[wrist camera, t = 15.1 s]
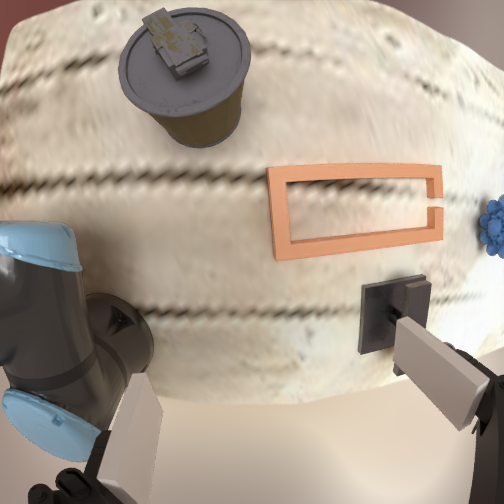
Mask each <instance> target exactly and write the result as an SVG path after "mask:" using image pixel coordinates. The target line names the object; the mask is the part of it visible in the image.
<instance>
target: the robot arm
mask: <svg viewBox="0 0 504 504" xmlns="http://www.w3.org/2000/svg"><path fill="white" fill-rule="evenodd" d="M82 271H83V268H82V266H81V265H80V261H79V256H78V250H77V243H76V237H75V234H74V232H73V230H72V229H71V228H70V227H69V226H68V225H66V224H64V223H62V222H54V221H0V366H3V369H4V371H5V373H6V376H7V378H8V380H9V382H10V388H9V389H6V391H4V396H3V400H2V407H3V410H4V412H5V414H6V416H7V417H8V419H9V420H10V422H11V423H12V424H13V425H14V427H15V428H16V429H17V430H18V431H19V432H20V433H21V434H22V435H23V436H25V437H26V438H27V439H28V440H29V441H31V442H32V443H33V444H35V445H36V446H38V447H39V448H41V449H43V450H44V451H46V452H48V453H50V454H52V455H54V456H56V457H59V458H62V459H65V460H68V461H72V462H86V461H88V462H87V465H86V467H85V471H84V473H82V472H81V471H80V470H78V469H76V468H67V469H64V470H62V471H61V472H60V473H59V474H58V475H57V477H56V480H55V483H56V487H57V488H58V489H59V490H55V491H52V490H51V489H50V488H49V487H48V486H47V485H45V484H36V485H34V486H33V487H32V488H31V489H30V490H29V492H28V504H149V502H150V494H151V486H152V479H153V471H154V464H155V458H156V451H157V445H158V439H159V433H160V426H161V421H162V416H163V410H162V407H161V405H160V403H159V401H158V399H157V397H156V394H155V392H154V390H153V388H152V385H151V383H150V381H149V378H148V376H147V373H144V372H145V370H146V369H147V367H148V365H149V362H150V360H151V357H152V354H153V339H152V335H151V332H150V330H149V327H148V325H147V324H146V322H145V320H144V319H143V318H142V316H141V315H140V314H139V313H138V312H137V311H136V310H135V309H134V308H133V307H132V306H131V305H129V304H128V303H126V302H125V301H123V300H121V299H119V298H117V297H115V296H112V295H108V294H101V293H97V294H90V295H87V296H85V292H84V286H83V279H82ZM393 361H394V362H395V363H396V365H397V366H398V367H399V368H400V369H401V370H402V371H403V372H404V373H405V374H406V375H407V376H408V377H409V378H410V379H411V380H412V381H413V382H414V383H415V384H416V385H417V387H418V388H419V389H420V390H421V391H422V392H423V393H424V394H425V395H426V396H427V397H428V398H429V399H430V400H431V401H432V402H433V403H434V405H436V407H437V408H438V409H439V410H440V411H441V412H442V413H443V414H444V415H445V416H446V418H447V419H448V420H449V421H450V422H451V423H452V424H453V425H454V426H455V427H456V428H457V430H458V431H461V430H462V429H464V428H465V427H467V426H468V425H470V424H471V422H472V420H473V418H474V416H475V415H476V416H477V417H478V420H477V422H476V424H475V426H474V428H473V430H472V434H474V432H475V430H476V429H477V433H476V451H475V463H474V472H473V480H472V487H471V493H470V499H469V504H504V375H500V376H497V375H496V374H494V373H493V372H492V371H490V370H489V369H488V368H486V367H485V366H484V365H483V364H481V363H480V362H478V361H477V360H476V359H475V358H474V359H473V357H472V356H471V355H469V354H468V353H467V352H465V351H462V350H459V349H456V350H452V349H451V348H450V347H448V346H447V345H446V344H444V343H443V342H442V341H441V340H439V339H438V338H437V337H435V336H434V335H433V334H431V333H430V332H429V331H427V330H426V329H424V328H423V327H422V326H420V325H419V324H418V323H416V322H415V321H414V320H412V319H411V318H410V317H408V316H407V317H404V318H401V319H398V320H397V323H396V335H395V346H394V355H393ZM127 386H128V387H127ZM126 387H127V389H126V392H125V395H124V397H123V400H122V403H121V406H120V408H119V412H118V414H117V417H116V420H115V423H114V425H113V428H112V430H108V429H109V426H110V424H111V421H112V419H113V416H114V414H115V411H116V409H117V407H118V404H119V402H120V400H121V397H122V395H123V393H124V390H125V388H126Z"/></svg>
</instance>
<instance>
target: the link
mask: <svg viewBox="0 0 504 504" xmlns="http://www.w3.org/2000/svg"><path fill="white" fill-rule="evenodd" d="M266 171H267V181H268V192H269V203H270V214H271V225H272V237H273V249H274V258H275V260H276V261H283V260H291V259H300V258H308V257H316V256H324V255H332V254H340V253H348V252H356V251H364V250H372V249H379V248H387V247H394V246H402V245H409V244H417V243H424V242H431V241H439V240H443V208H440V207H428V227H420V228H411V229H401V230H391V231H382V232H372V233H363V234H353V235H344V236H334V237H325V238H316V239H307V240H298V241H290V228H289V215H288V203H287V191H286V182H294V181H309V180H327V179H350V178H426V181H427V197H428V198H443V181H442V166H440V165H421V164H385V163H356V164H318V165H298V166H282V167H268V168H266Z"/></svg>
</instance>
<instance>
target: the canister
mask: <svg viewBox="0 0 504 504" xmlns="http://www.w3.org/2000/svg"><path fill="white" fill-rule="evenodd" d="M142 21H143V23H144V25H143V26H141V27H140V28H139V29H138V30H137V31H136V32H135V33H134V34H133V35H132V36H131V37H130V39H129V41H128V42H127V44H126V46H125V48H124V50H123V51H122V53H121V55H120V61H119V67H118V73H119V80H120V84H121V87H122V90H123V92H124V94H125V95H126V97H127V98H128V99H129V100H130V101H131V102H132V103H133V104H134V105H135V106H136V107H138V108H139V109H141V110H143V111H145V112H147V113H149V114H150V115H151V116H152V117H153V118H154V119H155V120H156V121H157V122H158V123H159V124H160V125H162V126H163V127H164V128H165V129H166V130H167V132H168V133H169V135H170V136H171V137H172V138H173V139H174V140H176V141H177V142H178V143H180V144H183V145H185V146H188V147H193V148H204V147H210V146H213V145H216V144H218V143H220V142H222V141H223V140H225V139H226V138H227V137H229V136H230V134H231V133H232V132H233V131H234V130H235V128H236V126H237V125H238V122H239V119H240V115H241V97H242V91H243V85H244V79H245V77H246V74H247V72H248V69H249V66H250V61H251V51H250V43H249V40H248V38H247V36H246V33H245V32H244V30H243V29H242V28H241V27H240V26H239V25H238V24H237V23H236V21H235V20H233V19H231V18H230V17H228V16H227V15H225V14H223V13H221V12H218V11H214V10H211V9H207V8H189V7H188V8H182V9H176V10H172V11H169V12H167V11H166V9H165V8H162V9H160V10H158V11H156V12H154V13H152V14H150V15H148V16H146V17H145V18H143V19H142Z"/></svg>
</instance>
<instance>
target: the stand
mask: <svg viewBox="0 0 504 504" xmlns="http://www.w3.org/2000/svg"><path fill="white" fill-rule="evenodd" d="M431 285H432V283H430V282H428V281H426V276H425V275H423V274H421V275H416V276H411V277H406V278H400V279H395V280H390V281H384V282H379V283H373V284H368V285H362V298H361V318H360V333H359V346H358V352H359V353H360V355H362V354H366V353H370V352H374V351H378V350H381V349H385V348H389V347H392V346H395V335H396V323H397V320H398V319H401V318H404V317H407V316H408V317H410V318H411V319H412V320H414V321H415V322H416V323H418V324H419V325H420V326H422V327H423V328H424V329H425V328H426V322H427V316H428V309H429V302H430V294H431ZM443 343H444V344H446V345H447V346H448V347H450V348H451V349H452V350H456V349H455V347H454V346H453V345H452V344H450V343H448V342H443ZM393 372H394V373H395V374H396V376H400V375H403V374H405V373H404V372H403V371H402V370H401V369H400V368H399V367H398V366H397V365H396V363H394V368H393Z"/></svg>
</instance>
